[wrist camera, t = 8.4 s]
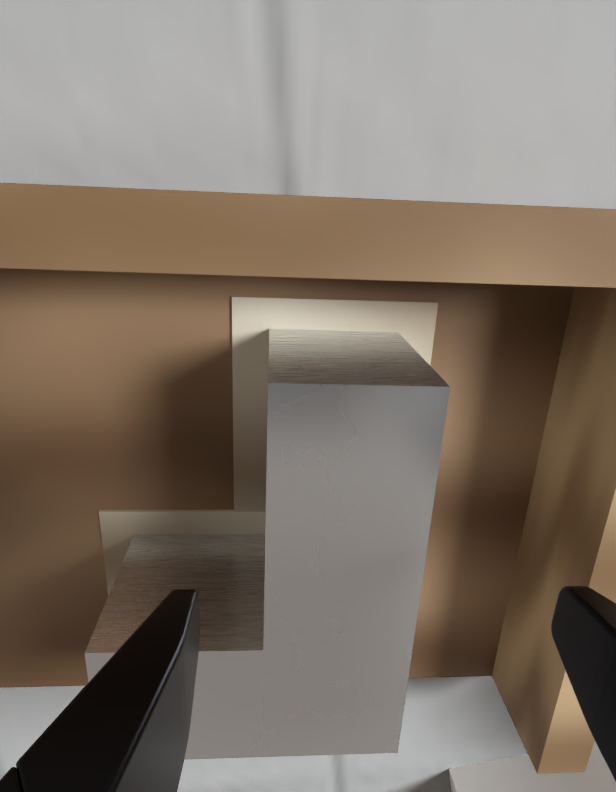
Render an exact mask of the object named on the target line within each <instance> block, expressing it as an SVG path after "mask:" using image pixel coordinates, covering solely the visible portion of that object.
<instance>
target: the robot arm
mask: <svg viewBox="0 0 616 792" xmlns="http://www.w3.org/2000/svg"><path fill="white" fill-rule="evenodd" d="M551 633H552V637H553V640H554V643H555V645H556V648H557V650H558V653H559V655H560V658H561V660H562V663H563V665H564V668H565V670H566V673H567V675H568V678H569V680H570V683H571V685H572V688H573V690H574V693H575V695H576V698H577V700H578V703H579V705H580V708H581V711H582V713H583V715H584V718H585V720H586V722H587V725H588V727H589V729H590V731H591V733H592V736H593V738H594V740H595V742H596V744H597V746H598V748H599V750H600V752H601V754H602V756H603V758H604V760H605V762H606V764H607V766H608V768H609V769H610V771H611V773H612V775H613V777H614V779H615V781H616V603H615V602H613V601H611V600H610V599H608V598H606V597H605V596H603V595H601V594H600V593H598V592H596V591H595V590H593V589H591V588H590V587H587V586H565V587H563V588H562V589H561V590H560V592H559V594H558V598H557V602H556V606H555V610H554V614H553V618H552V622H551ZM199 644H200V609H199V593H198V591H197V590H196V589H174V590H172V591H171V592H170V593H169V594H168V595H167V596H166V597H165V598H164V599H163V601H162V602H161V603H160V604H159V605H158V606H157V607H156V608H155V609H154V611H153V612H152V613H151V614H150V615H149V616H148V617H147V618H146V619H145V621H144V622H143V623H142V624H141V625H140V626H139V627H138V628H137V629H136V630H135V632H134V633H133V634H132V635H131V636H130V637H129V638H128V639H127V640H126V642H125V643H124V644H123V645H122V646H121V647H120V648H119V649H118V650H117V652H116V653H115V654H114V655H113V656H112V657H111V658H110V659H109V660H108V662H107V663H106V664H105V665H104V666H103V667H102V668H101V669H100V670H99V672H98V673H97V674H96V675H95V676H94V677H93V678H92V679H91V680H90V681H89V683H88V684H87V685H86V686H85V687H84V688H83V689H82V690H81V691H80V693H79V694H78V695H77V696H76V697H75V698H74V699H73V700H72V701H71V703H70V704H69V705H68V706H67V707H66V708H65V709H64V710H63V711H62V713H61V714H60V715H59V716H58V717H57V718H56V719H55V720H54V721H53V723H52V724H51V725H50V726H49V727H48V728H47V729H46V730H45V731H44V732H43V734H42V735H41V736H40V737H39V738H38V739H37V740H36V741H35V742H34V744H33V745H32V746H31V747H30V748H29V749H28V750H27V751H26V752H25V754H24V755H23V756H22V757H21V758H20V759H19V760H18V761H17V763H16V767H17V769H16V768H15V767H13V768H11V769H10V770H9V771H8V772H7V773H6V774H5V775H4V776H3V778H2V779H1V780H0V792H177V789H178V784H179V780H180V776H181V771H182V767H183V762H184V758H185V753H186V748H187V743H188V737H189V730H190V723H191V714H192V706H193V697H194V688H195V679H196V671H197V662H198V653H199Z"/></svg>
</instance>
